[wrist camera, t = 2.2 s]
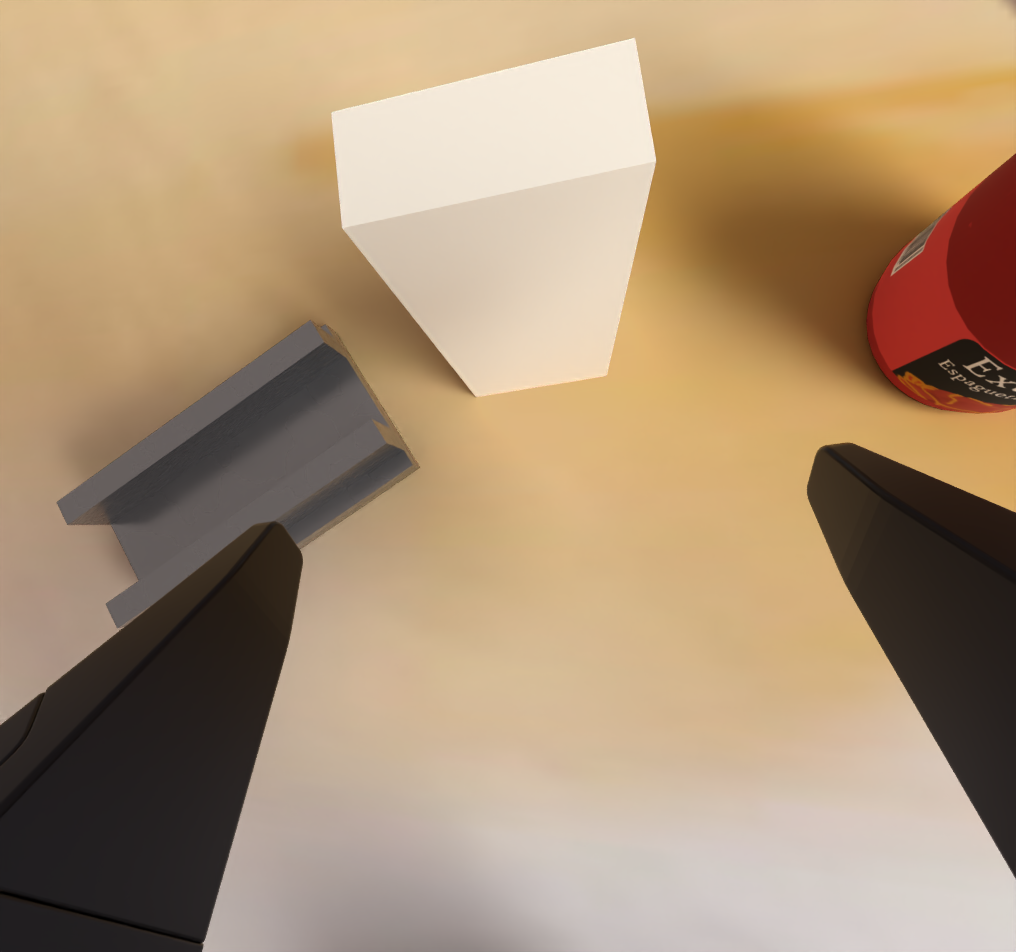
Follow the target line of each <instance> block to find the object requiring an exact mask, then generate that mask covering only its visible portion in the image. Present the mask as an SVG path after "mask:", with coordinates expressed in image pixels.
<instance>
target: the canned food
mask: <svg viewBox="0 0 1016 952" xmlns="http://www.w3.org/2000/svg"><path fill="white" fill-rule="evenodd" d="M866 322H867V334H868V341H869V344H870V347H871V351H872V354H873V356H874V358H875V360H876V362H877V363H878V365H879V367H880V369H881V371H882V372H883V373H884V374H885V375H886V376H887V378H888V379H889V380H890V381H891V382H892V384H894V385H895V386H896V387H897V388H899V389H900V390H901V391H902V392H904V393H905V394H906V395H908V396H909V397H911V398H913V399H915V400H917V401H919V402H921V403H923V404H925V405H929V406H932V407H935V408H938V409H941V410H949V411H957V412H966V413H977V414H978V413H995V412H1003V411H1007V410H1011V409H1015V408H1016V154H1015V155H1013V156H1012V157H1011V158H1010V159H1009V160H1007V161H1006V162H1005V163H1004V164H1003V165H1001V166H1000V167H999V168H998V169H997V170H995V171H994V172H993V173H992V174H991V175H989V176H988V177H987V178H986V179H984V180H983V181H982V182H981V183H980V184H978V185H977V186H976V187H975V188H974V189H972V190H971V191H970V192H969V193H968V194H966V195H965V196H964V197H963V198H962V199H960V200H959V201H958V202H957V203H956V204H954V205H953V206H952V207H951V208H950V209H948V210H947V211H946V212H945V213H944V214H942V215H941V216H940V217H939V218H938V219H936V220H935V221H934V222H933V223H932V224H930V225H929V226H928V227H927V228H926V229H924V230H923V231H922V232H921V233H920V234H918V235H917V236H916V237H915V238H914V239H912V240H911V241H910V242H909V243H908V244H906V245H905V246H904V247H903V248H902V249H901V250H900V251H899V253H898V254H897V255H896V256H895V257H894V258H893V259H892V260H891V261H890V263H889V265H888V266H887V268H886V270H885V271H884V273H883V275H882V276H881V278H880V280H879V281H878V283H877V285H876V287H875V288H874V291H873V294H872V297H871V300H870V302H869V306H868V314H867V321H866Z"/></svg>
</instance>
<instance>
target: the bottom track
mask: <svg viewBox="0 0 1016 952" xmlns="http://www.w3.org/2000/svg"><path fill="white" fill-rule="evenodd" d="M418 468H420V466H419V465H418V463H417V461H416V460H415V458H414V457H413V455H412V453H411V452H410V450H409V449H408V447H407V445H406V444H405V442H404V441H403V439H402V437H401V436H400V434H399V433H398V431H397V429H396V428H395V426H394V425H393V423H392V421H391V420H390V418H389V417H388V415H387V413H386V412H385V410H384V409H383V407H382V405H381V404H380V402H379V401H378V399H377V397H376V396H375V394H374V393H373V391H372V389H371V388H370V386H369V385H368V383H367V382H366V380H365V378H364V377H363V375H362V374H361V372H360V370H359V369H358V367H357V366H356V364H355V362H354V361H353V359H352V358H351V356H350V354H349V353H348V351H347V350H346V348H345V346H344V345H343V343H342V342H341V340H340V338H339V337H338V335H337V334H336V332H335V331H333V330H332V329H331V328H329V327H328V326H327V325H326V324H325V325H324V326H322V327H321V328H320V327H319V326H318V325H316V324H315V323H314V322H312V321H311V320H310V321H308V322H307V323H306V324H304V325H303V326H301V327H300V328H299V329H297V330H296V331H294V332H293V333H292V334H290V335H289V336H287V337H286V338H285V339H283V340H282V341H280V342H279V343H278V344H276V345H275V346H273V347H272V348H271V349H269V350H268V351H266V352H265V353H264V354H262V355H261V356H260V357H258V358H257V359H255V360H254V361H253V362H251V363H250V364H248V365H247V366H246V367H244V368H243V369H241V370H240V371H239V372H237V373H236V374H234V375H233V376H232V377H230V378H229V379H227V380H226V381H225V382H223V383H222V384H221V385H219V386H218V387H216V388H215V389H214V390H212V391H211V392H209V393H208V394H207V395H205V396H204V397H202V398H201V399H200V400H198V401H197V402H195V403H194V404H193V405H191V406H190V407H188V408H187V409H186V410H184V411H183V412H181V413H180V414H179V415H177V416H176V417H175V418H173V419H172V420H170V421H169V422H168V423H166V424H165V425H163V426H162V427H161V428H159V429H158V430H156V431H155V432H154V433H152V434H151V435H149V436H148V437H147V438H145V439H144V440H142V441H141V442H140V443H138V444H137V445H135V446H134V447H133V448H131V449H130V450H129V451H127V452H126V453H124V454H123V455H122V456H120V457H119V458H117V459H116V460H115V461H113V462H112V463H110V464H109V465H108V466H106V467H105V468H103V469H102V470H101V471H99V472H98V473H96V474H95V475H94V476H92V477H91V478H90V479H88V480H87V481H85V482H84V483H83V484H81V485H80V486H78V487H77V488H76V489H74V490H73V491H71V492H70V493H69V494H67V495H66V496H64V497H63V498H62V499H60V500H59V501H57V504H58V506H59V508H60V510H61V513H62V515H63V517H64V519H65V521H66V523H67V525H111V526H112V528H113V530H114V532H115V534H116V536H117V538H118V540H119V542H120V544H121V546H122V548H123V550H124V552H125V554H126V556H127V558H128V560H129V562H130V564H131V566H132V568H133V570H134V572H135V574H136V576H137V578H138V580H139V581H138V582H136V583H135V584H134V585H132V586H131V587H129V588H128V589H126V590H125V591H123V592H122V593H121V594H119V595H118V596H116V597H115V598H113V599H112V600H110V601H109V602H108V603H106V606H107V608H108V610H109V612H110V614H111V616H112V618H113V620H114V622H115V625H116V627H117V628H122V627H125V626H126V625H128V624H129V623H130V622H131V621H133V620H134V619H135V618H136V617H138V616H139V615H140V614H141V613H143V612H144V611H145V610H147V609H148V608H149V607H150V606H152V605H153V604H154V603H155V602H157V601H158V600H159V599H160V598H162V597H163V596H164V595H165V594H167V593H168V592H169V591H170V590H172V589H173V588H174V587H176V586H177V585H178V584H179V583H181V582H182V581H183V580H184V579H186V578H187V577H188V576H189V575H191V574H192V573H193V572H194V571H196V570H197V569H198V568H199V567H201V566H202V565H203V564H205V563H206V562H207V561H208V560H210V559H211V558H212V557H213V556H215V555H216V554H217V553H218V552H220V551H221V550H222V549H223V548H225V547H226V546H227V545H228V544H230V543H231V542H232V541H233V540H235V539H236V538H237V537H239V536H240V535H241V534H242V533H244V532H245V531H246V530H247V529H249V528H250V527H251V526H253V525H255V524H258V523H264V522H271V521H276V522H279V523H281V524H282V525H283V526H284V527H285V529H286V530H287V532H288V533H289V534H290V536H291V537H292V539H293V540H294V542H295V543H296V545H297V546H298V548H299V549H301V548H302V547H304V546H305V545H307V544H308V543H310V542H311V541H313V540H314V539H316V538H317V537H319V536H320V535H322V534H323V533H325V532H326V531H327V530H329V529H330V528H332V527H333V526H335V525H336V524H338V523H339V522H341V521H342V520H344V519H345V518H347V517H348V516H349V515H351V514H352V513H354V512H355V511H357V510H358V509H360V508H361V507H363V506H364V505H366V504H367V503H369V502H370V501H371V500H373V499H374V498H376V497H377V496H379V495H380V494H382V493H383V492H385V491H386V490H388V489H389V488H391V487H392V486H393V485H395V484H396V483H398V482H399V481H401V480H402V479H404V478H405V477H407V476H408V475H410V474H411V473H413V472H414V471H416V470H417V469H418Z"/></svg>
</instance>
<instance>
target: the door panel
mask: <svg viewBox="0 0 1016 952" xmlns="http://www.w3.org/2000/svg"><path fill="white" fill-rule="evenodd" d="M331 114H332V125H333V135H334V146H335V157H336V167H337V178H338V189H339V199H340V210H341V221H342V228H343V230H344V231H345V232H346V234H347V235H348V236H349V237H350V239H351V240H352V241H353V242H354V244H355V245H356V246H357V247H358V249H359V250H360V251H361V252H362V254H363V255H364V256H365V258H366V259H367V260H368V261H369V263H370V264H371V265H372V266H373V268H374V269H375V270H376V271H377V273H378V274H379V275H380V276H381V278H382V279H383V280H384V282H385V283H386V284H387V285H388V287H389V288H390V289H391V290H392V292H393V293H394V294H395V295H396V297H397V298H398V299H399V300H400V302H401V303H402V304H403V306H404V307H405V308H406V309H407V311H408V312H409V313H410V314H411V316H412V317H413V318H414V319H415V321H416V322H417V323H418V324H419V326H420V327H421V328H422V329H423V331H424V332H425V333H426V335H427V336H428V337H429V338H430V340H431V341H432V342H433V343H434V345H435V346H436V347H437V348H438V350H439V351H440V352H441V353H442V355H443V356H444V357H445V359H446V360H447V361H448V362H449V364H450V365H451V366H452V367H453V369H454V370H455V371H456V372H457V374H458V375H459V376H460V377H461V379H462V380H463V381H464V383H465V384H466V385H467V386H468V388H469V389H470V390H471V391H472V393H473V394H474V395H475V396H476V397H480V396H486V395H492V394H498V393H505V392H511V391H517V390H523V389H529V388H535V387H542V386H548V385H554V384H560V383H566V382H573V381H579V380H585V379H591V378H597V377H604V376H607V372H608V368H609V364H610V359H611V355H612V351H613V346H614V342H615V338H616V333H617V329H618V325H619V320H620V316H621V312H622V307H623V303H624V299H625V294H626V290H627V286H628V281H629V277H630V273H631V268H632V264H633V260H634V255H635V251H636V247H637V242H638V238H639V234H640V229H641V225H642V221H643V216H644V212H645V208H646V203H647V199H648V195H649V190H650V186H651V182H652V177H653V173H654V169H655V165H656V157H655V151H654V145H653V139H652V134H651V128H650V122H649V116H648V110H647V105H646V99H645V93H644V87H643V81H642V76H641V70H640V64H639V58H638V52H637V47H636V41H635V38H632V39H628V40H624V41H620V42H615V43H611V44H607V45H603V46H599V47H595V48H591V49H587V50H583V51H579V52H575V53H571V54H567V55H562V56H558V57H554V58H550V59H546V60H542V61H538V62H534V63H530V64H526V65H522V66H518V67H513V68H509V69H505V70H501V71H497V72H493V73H489V74H485V75H481V76H477V77H473V78H469V79H465V80H460V81H456V82H452V83H448V84H444V85H440V86H436V87H432V88H428V89H424V90H420V91H416V92H411V93H407V94H403V95H399V96H395V97H391V98H387V99H383V100H379V101H375V102H371V103H367V104H363V105H358V106H354V107H350V108H346V109H342V110H338V111H334V112H331Z"/></svg>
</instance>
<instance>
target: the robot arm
mask: <svg viewBox="0 0 1016 952" xmlns="http://www.w3.org/2000/svg"><path fill="white" fill-rule="evenodd" d="M807 495H808V499H809V502H810V505H811V507H812V509H813V512H814V514H815V516H816V519H817V521H818V523H819V525H820V528H821V530H822V532H823V535H824V537H825V539H826V542H827V544H828V546H829V549H830V551H831V553H832V556H833V558H834V560H835V563H836V565H837V567H838V570H839V572H840V574H841V576H842V578H843V580H844V582H845V584H846V586H847V588H848V590H849V592H850V594H851V595H852V597H853V599H854V601H855V602H856V604H857V606H858V608H859V609H860V611H861V613H862V615H863V616H864V618H865V620H866V621H867V623H868V625H869V627H870V628H871V630H872V632H873V634H874V635H875V637H876V639H877V640H878V642H879V644H880V646H881V647H882V649H883V651H884V653H885V654H886V656H887V658H888V659H889V661H890V663H891V665H892V666H893V668H894V670H895V671H896V673H897V675H898V677H899V678H900V680H901V682H902V684H903V685H904V687H905V689H906V690H907V692H908V694H909V696H910V697H911V699H912V701H913V703H914V704H915V706H916V708H917V709H918V711H919V713H920V715H921V716H922V718H923V720H924V722H925V723H926V725H927V727H928V728H929V730H930V732H931V734H932V735H933V737H934V739H935V741H936V742H937V744H938V746H939V747H940V749H941V751H942V753H943V754H944V756H945V758H946V759H947V761H948V763H949V765H950V766H951V768H952V770H953V772H954V773H955V775H956V777H957V778H958V780H959V782H960V784H961V785H962V787H963V789H964V791H965V792H966V794H967V796H968V797H969V799H970V801H971V803H972V804H973V806H974V808H975V810H976V811H977V813H978V815H979V816H980V818H981V820H982V822H983V823H984V825H985V827H986V828H987V830H988V832H989V834H990V835H991V837H992V839H993V841H994V842H995V844H996V846H997V847H998V849H999V851H1000V853H1001V854H1002V856H1003V858H1004V860H1005V861H1006V863H1007V865H1008V866H1009V868H1010V870H1011V872H1012V873H1013V875H1014V877H1015V879H1016V513H1015V512H1013V511H1011V510H1008V509H1006V508H1004V507H1001V506H999V505H996V504H994V503H992V502H989V501H987V500H985V499H982V498H980V497H978V496H975V495H973V494H971V493H968V492H966V491H964V490H961V489H959V488H957V487H954V486H952V485H950V484H947V483H945V482H942V481H940V480H938V479H935V478H933V477H931V476H928V475H926V474H924V473H921V472H919V471H917V470H914V469H912V468H910V467H907V466H905V465H903V464H900V463H898V462H896V461H893V460H891V459H889V458H886V457H884V456H881V455H879V454H877V453H874V452H872V451H870V450H867V449H865V448H863V447H860V446H858V445H856V444H853V443H840V444H833V445H825V446H823V447H821V448H820V449H819V450H818V451H817V453H816V456H815V459H814V463H813V466H812V470H811V474H810V477H809V481H808V485H807ZM302 566H303V558H302V553H301V551H300V549H299V548H298V546H297V545H296V543H295V542H294V540H293V539H292V537H291V536H290V534H289V533H288V532H287V530H286V529H285V527H284V526H283V525H282V524H281V523H279V522H276V521H271V522H264V523H258V524H255V525H253V526H251V527H250V528H249V529H247V530H246V531H245V532H244V533H242V534H241V535H240V536H239V537H237V538H236V539H235V540H233V541H232V542H231V543H230V544H228V545H227V546H226V547H225V548H223V549H222V550H221V551H220V552H218V553H217V554H216V555H215V556H213V557H212V558H211V559H210V560H208V561H207V562H206V563H205V564H203V565H202V566H201V567H199V568H198V569H197V570H196V571H194V572H193V573H192V574H191V575H189V576H188V577H187V578H186V579H184V580H183V581H182V582H181V583H179V584H178V585H177V586H176V587H174V588H173V589H172V590H170V591H169V592H168V593H167V594H165V595H164V596H163V597H162V598H160V599H159V600H158V601H157V602H155V603H154V604H153V605H152V606H150V607H149V608H148V609H147V610H145V611H144V612H143V613H141V614H140V615H139V616H138V617H136V618H135V619H134V620H133V621H131V622H130V623H129V624H128V625H126V626H125V627H124V628H123V629H121V630H120V631H119V632H118V633H116V634H115V635H114V636H113V637H111V638H110V639H109V640H107V641H106V642H105V643H104V644H102V645H101V646H100V647H99V648H97V649H96V650H95V651H94V652H92V653H91V654H90V655H89V656H87V657H86V658H85V659H84V660H82V661H81V662H80V663H78V664H77V665H76V666H75V667H73V668H72V669H71V670H70V671H68V672H67V673H66V674H65V675H63V676H62V677H61V678H60V679H58V680H57V681H56V682H55V683H53V684H52V685H51V686H50V687H48V688H47V690H46V692H45V693H41V694H39V695H38V696H37V697H35V698H34V699H33V700H32V701H30V702H29V703H28V704H27V705H25V706H24V707H23V708H22V709H20V710H19V711H18V712H17V713H15V714H14V715H13V716H12V717H10V718H9V719H8V720H6V721H5V722H4V723H2V724H1V725H0V952H202V950H203V942H204V940H205V938H206V934H207V931H208V927H209V924H210V920H211V917H212V913H213V909H214V906H215V902H216V899H217V895H218V892H219V888H220V885H221V881H222V878H223V874H224V871H225V867H226V864H227V860H228V857H229V853H230V849H231V846H232V842H233V839H234V835H235V832H236V828H237V825H238V821H239V818H240V814H241V811H242V807H243V804H244V800H245V797H246V793H247V789H248V786H249V782H250V779H251V775H252V772H253V768H254V765H255V761H256V758H257V754H258V751H259V747H260V744H261V740H262V737H263V733H264V729H265V726H266V722H267V719H268V715H269V712H270V708H271V705H272V701H273V698H274V694H275V691H276V687H277V684H278V680H279V676H280V673H281V669H282V666H283V662H284V659H285V655H286V651H287V648H288V644H289V639H290V634H291V630H292V624H293V618H294V612H295V606H296V601H297V595H298V589H299V583H300V577H301V571H302Z"/></svg>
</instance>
